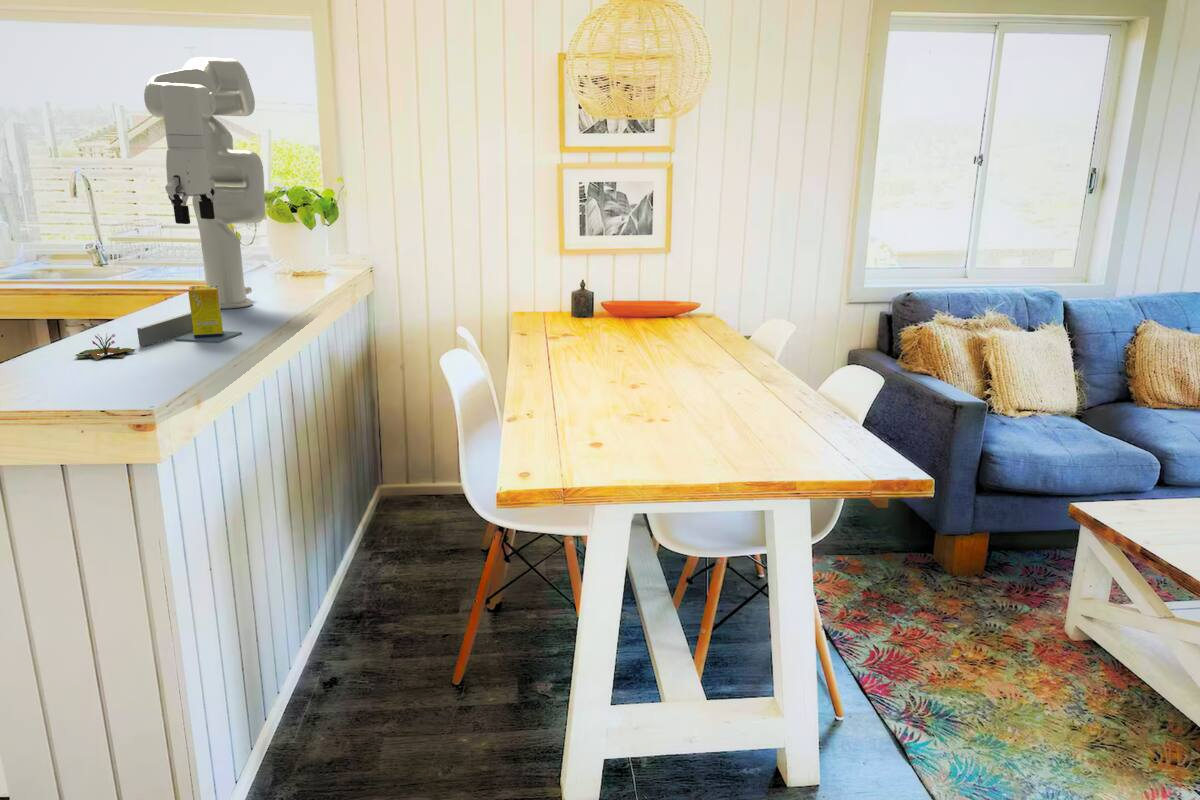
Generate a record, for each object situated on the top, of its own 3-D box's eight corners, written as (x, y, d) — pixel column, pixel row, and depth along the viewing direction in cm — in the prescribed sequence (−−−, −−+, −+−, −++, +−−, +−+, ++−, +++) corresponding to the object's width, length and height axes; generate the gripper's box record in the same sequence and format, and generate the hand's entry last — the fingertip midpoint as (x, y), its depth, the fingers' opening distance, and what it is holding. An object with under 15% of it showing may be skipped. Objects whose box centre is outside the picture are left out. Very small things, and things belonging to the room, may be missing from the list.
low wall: (205, 325, 194) (203, 308, 193) (208, 325, 194) (206, 309, 193) (139, 346, 171) (137, 328, 170) (144, 346, 171) (141, 328, 170)
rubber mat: (201, 331, 187) (201, 329, 187) (242, 333, 186) (241, 331, 186) (175, 340, 177) (174, 338, 177) (217, 342, 176) (217, 341, 176)
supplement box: (194, 333, 183) (188, 285, 180) (223, 331, 185) (218, 284, 182) (193, 338, 178) (187, 289, 175) (223, 337, 180) (217, 288, 177)
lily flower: (62, 364, 157) (58, 341, 156) (85, 350, 168) (81, 329, 167) (129, 362, 160) (126, 340, 159) (147, 349, 171) (144, 328, 170)
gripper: (192, 141, 186) (201, 216, 192) (145, 143, 170) (156, 224, 176) (223, 143, 186) (231, 217, 192) (178, 145, 170) (189, 226, 175)
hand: (195, 221), depth 184 cm, fingers open, 9 cm apart
